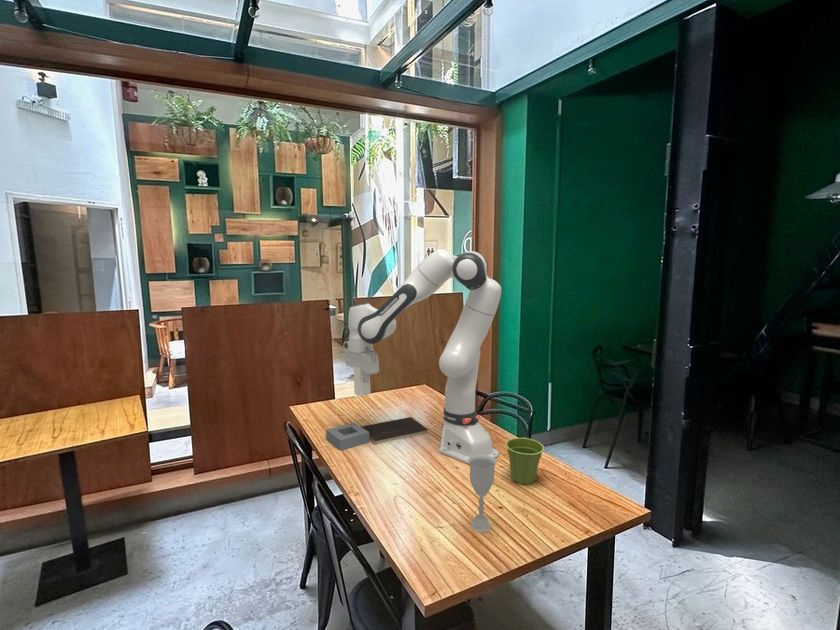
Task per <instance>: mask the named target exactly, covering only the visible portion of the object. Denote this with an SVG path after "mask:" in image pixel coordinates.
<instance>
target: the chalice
mask: <svg viewBox="0 0 840 630" xmlns="http://www.w3.org/2000/svg"><path fill="white" fill-rule="evenodd" d="M468 462H469V464H468V465H469V481H470V483H471V486H472V488H473V490H474V493H475V495H477V496H479V498H478V501H477V502H478V504H479V506H478V507H477V510H478V514H477V515H475V516H474V518H473V520H472V522H471V524H470V527H471V529H472V530H473V531H475V532H477V533H486V532H489V531H490V530H491V524H490V522H489V519H488V517H487V516H486V515H484V511H485V510H486V509H485V507H484V504H485V500H484V497H486V496H487V495H488V493H489V492H490V490H491V488H492V486H493V484H494V481H495V467H496V464H497V458H493V457H491V456H487V455H474V456H471V457H469V459H468Z"/></svg>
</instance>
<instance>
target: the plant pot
mask: <svg viewBox="0 0 840 630" xmlns="http://www.w3.org/2000/svg"><path fill="white" fill-rule="evenodd" d="M505 447H506V449H507V454H508V459H509V467H510V475H511V476H510V477H511V479H512V480H513V481H514V482H516V483H517V484H520V485H531V484H532V483H534V482H535V481H536V478H537V477H536V475H537V471H538V468H539V463H540V460H541V457H542V455H543V454H542V453H543V452H544V451H545V446H544V445H543V444H542V443H541V442H540V441H537V440H535V439H532V438H528V437H527V438H526V437H513V438H509V439H508V440H507V441H506V442H505Z"/></svg>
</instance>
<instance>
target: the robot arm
mask: <svg viewBox="0 0 840 630" xmlns="http://www.w3.org/2000/svg"><path fill="white" fill-rule="evenodd" d="M488 268H489V267H488V261H487V259H486V257H485V256H484V255H483V254H481V253H480V252H478V251H474V250H469V251H465V252H462V253H460V254H456V255H454V254H453V253H451V251H449V250H447V249H444V248H438V249H436V250H434V251H433V252H431V253H430V254H429V255H427V256H426V257H425V258H424V259H422V261H421V262H420V263H419V264H417V266H416V267H415V268H414V270H412V271H411V273H410V274H409V275H408V277H407V278H406V279H405V280H404V282H403V283H402V284H401V285H400V286H399V288H398V289H397V290H396V291H395V293H393V295H391V296H390V297H389V298H388V299H387V301H385V302H384V303H383V304H382V306H380V307H379V308H376V307H374V306H372V305H371V304H370V303H368V302H361V303H358V304H354V305H351V306H350V307H349V310H348V317H347V318H348V322H347V324H348V330H349V336H348V340H347V341H345V342H343V344H342V345H343V349H344V350H343V353H344V362H345V363H344V364H345V365H346V366H347V367H349V368H353V369H352V370H353V371H354V367H353V366H357V367H359V368H361V371H363V372H364V374H365V377H364V378H363V382H364V383H369V377H370V378H371V375H377V374H378V373H379V372H380V362H379V356H378V354H377V352H376V351H375V349H374V345H375V344H377V343H379V342H381V341H382V340H384V339H386V338H388V337H390V336H392V335H393V334H394V333H395V331H396V329H397V324H398V323H397V319H396V318H398V316H399V315H400V314H401V313H402V312H403V311H405V310H406V309H407V308H408V307H410V306H412V305H414V304H417V303H418V302H421V301H424V300H426V299H427V298H429V297H431V296H432V295H433V294H435V293H436V292H437V291H438V290H439V289H440V288H441V287H442V286H443V285H444V284H445V283H446V282H447V281H448V280H449V279H451V278H455V280H456V281H458V282H459V283H460V284H462V286H464V287H465V288H466V289H468V290H469V291H468V295H467V298H466V300H465V303H464V305H463V308H462V311H461V313H460V316H459V319H458V321H457V323H456V326H455V328H454V329H453V330H452V331H453V332H452V334H451V335H450V337H449V339H448V341H447V343H446V345H445V347H444V349H443V351H442V353H441V355H440V357H439V359H438V368H439V370H440V371H441V373H442V374H443V375H444V376H446V377H447V380H446V384H445V388H444V408H443V420H444V423H443V426H442V432H441V439H440V443H439V444H440V445H439V448H438V452H439V453H440V454H443V455H445V456H448V457H450V458H453V459H456V460H458V461H461V462H463V463H465V464H468V465H470V464H469V462H468V459H469V457H471V456H474V455H487V456H491V457H493V458H495V459H497V458H498V457H499V455H500V452H499V450H497V449H496V448H494V447H493V440H492V438H491V435H490V434H489V431H487V430H486V429H485V428H484V427H483V426H482V424H481V423H480V421H479V419H481V414H478V411H477V409H476V389H477V388H476V387H477V383H478V382H477V381H478V375H479V369H480V368H479V367H480V359H481V346H482V345H483V342H484V341H485V338H487V335H488V333H489V330H490V327H491V325H492V322H493V320H494V317H495V316H496V313H497V310H498V307H499V305H500V304H499V303H500V300H501V295H502V286H501V285H500V284H499V282H497V281H496V280H494V279H493V278H490V277H489V276H488V274H487V271H488Z"/></svg>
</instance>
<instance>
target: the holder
mask: <svg viewBox="0 0 840 630" xmlns="http://www.w3.org/2000/svg"><path fill="white" fill-rule="evenodd" d="M360 426H361V425H358V424H357V423H356V422H351V423H347V424H344V425H339V426H335V427H332V428H327V429H325V440H326V441H327V442H329V444H331V445H332V446H334V447H335V448H336V447H337V450H339V449H340V450H342V451H345V450H348V449H351V448H355V447H358V446H361V445H366V444H368V443H370V439H369V432H368V431H367V430H365V429H363V428H362V427H360ZM344 449H345V450H344ZM340 450H339V451H340Z"/></svg>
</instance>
